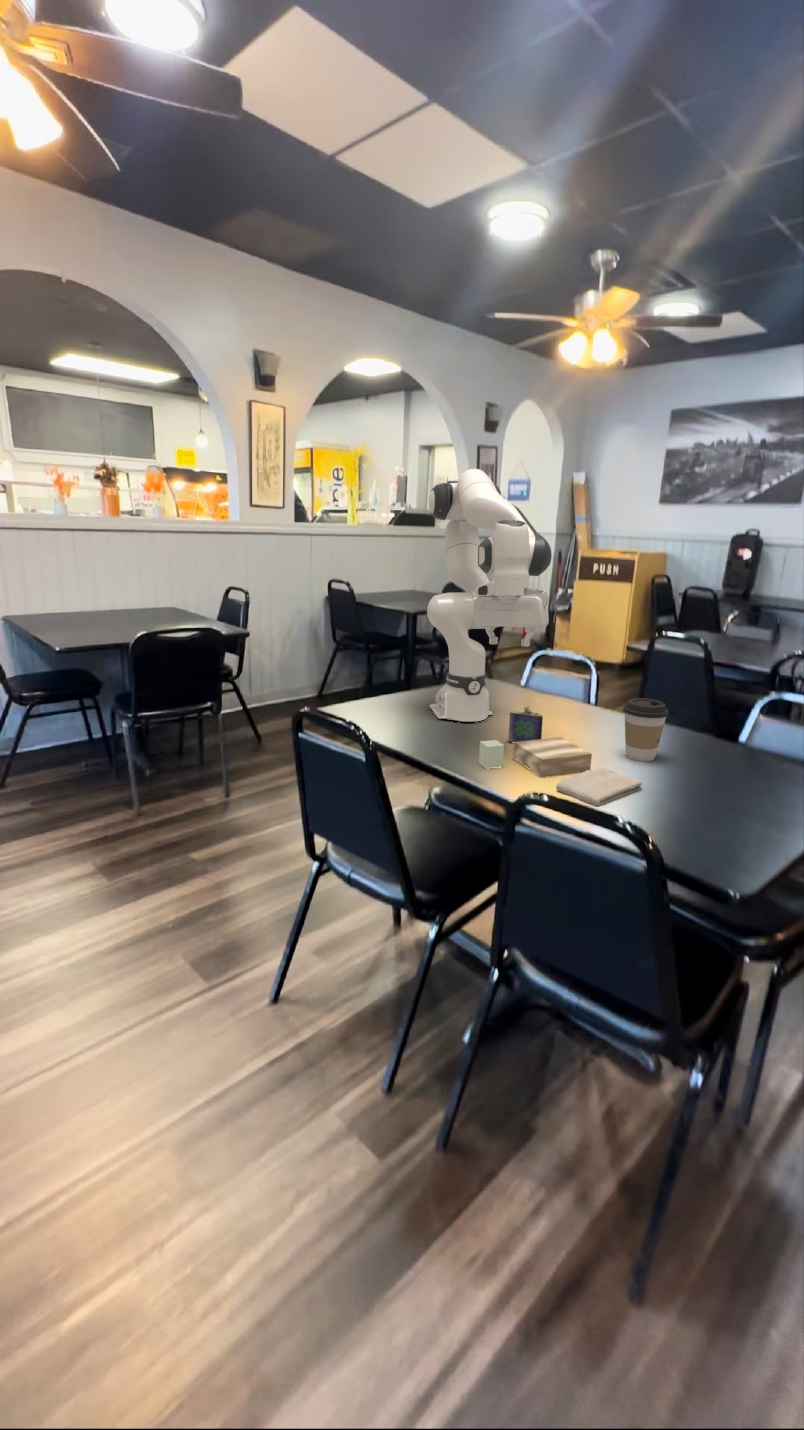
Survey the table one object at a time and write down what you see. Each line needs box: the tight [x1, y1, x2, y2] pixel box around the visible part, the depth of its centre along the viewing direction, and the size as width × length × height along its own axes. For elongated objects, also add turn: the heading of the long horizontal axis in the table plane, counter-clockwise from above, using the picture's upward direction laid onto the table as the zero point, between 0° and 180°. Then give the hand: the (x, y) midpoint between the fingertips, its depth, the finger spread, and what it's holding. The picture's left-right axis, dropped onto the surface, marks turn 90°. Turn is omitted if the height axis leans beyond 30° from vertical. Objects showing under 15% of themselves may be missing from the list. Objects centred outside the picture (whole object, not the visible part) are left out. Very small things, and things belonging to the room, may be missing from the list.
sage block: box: [478, 739, 505, 768], centre depth 169 cm, size 4×4×6 cm
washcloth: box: [555, 767, 643, 807], centre depth 155 cm, size 12×18×3 cm, turn 129°
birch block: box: [512, 736, 593, 778], centre depth 170 cm, size 14×14×5 cm
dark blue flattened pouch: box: [507, 705, 544, 743], centre depth 185 cm, size 9×3×11 cm, turn 65°
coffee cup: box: [622, 697, 670, 763], centre depth 175 cm, size 11×11×15 cm
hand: (509, 645), depth 166 cm, fingers open, 8 cm apart
